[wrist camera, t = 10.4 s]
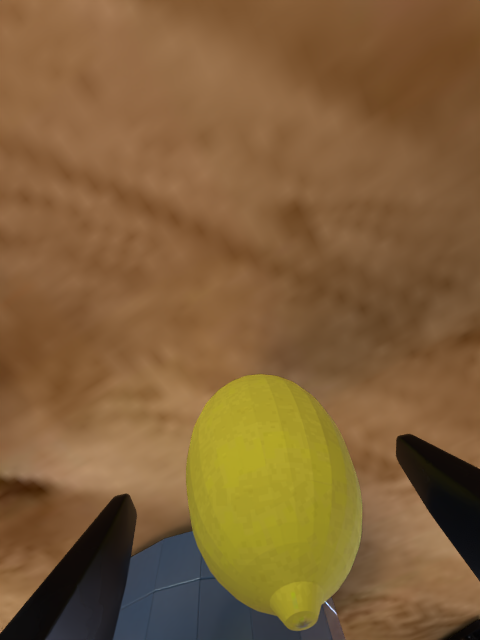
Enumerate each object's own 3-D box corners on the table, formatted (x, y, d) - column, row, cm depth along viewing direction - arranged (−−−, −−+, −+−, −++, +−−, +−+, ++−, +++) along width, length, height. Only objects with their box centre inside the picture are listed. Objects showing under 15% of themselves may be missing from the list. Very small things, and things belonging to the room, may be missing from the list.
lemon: (215, 450, 13) (213, 720, 6) (180, 363, 12) (113, 585, 4) (313, 422, 13) (437, 654, 6) (292, 330, 12) (430, 492, 4)
